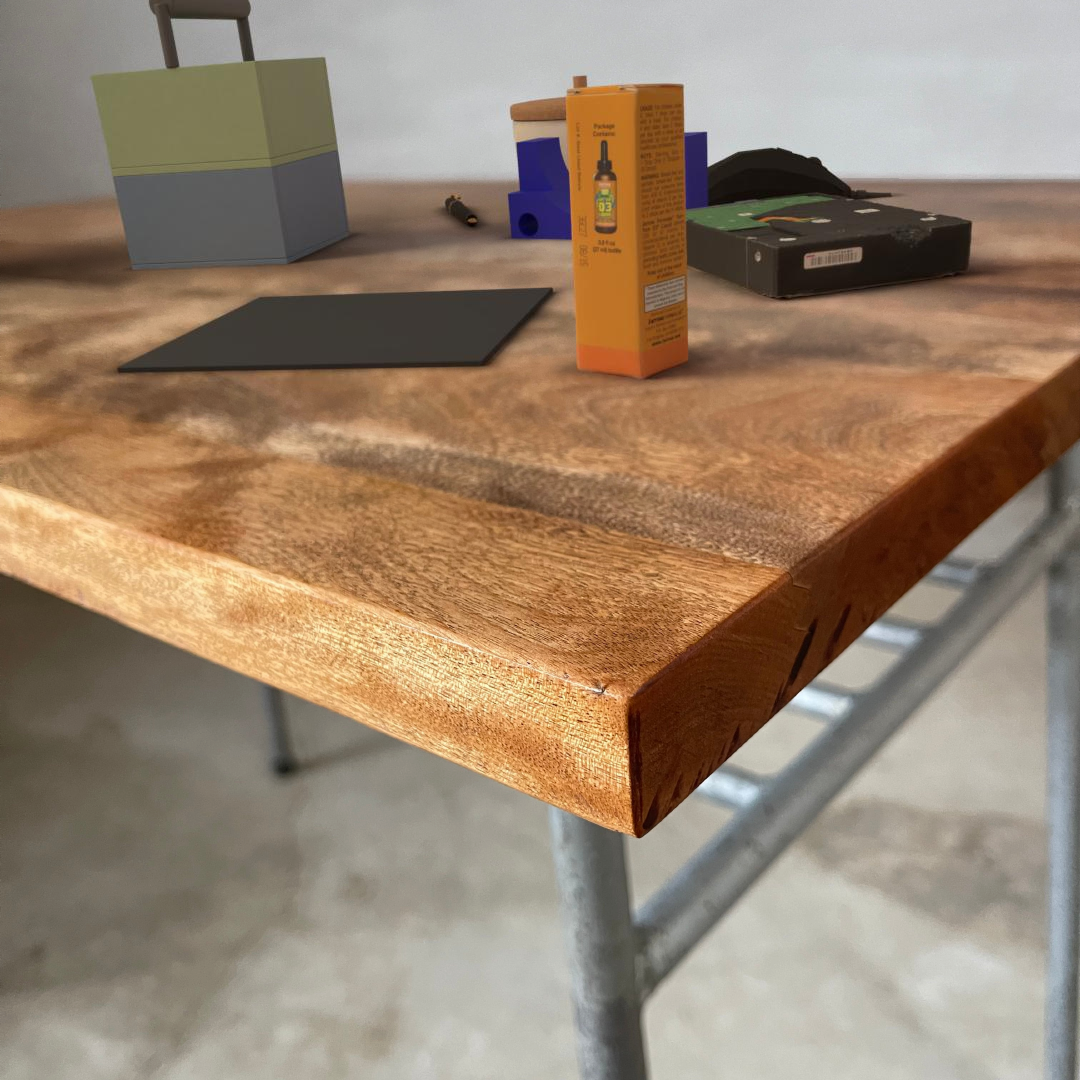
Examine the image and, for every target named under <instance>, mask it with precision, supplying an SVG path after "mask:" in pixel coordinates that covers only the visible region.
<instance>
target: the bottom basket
mask: <svg viewBox="0 0 1080 1080" xmlns="http://www.w3.org/2000/svg"><path fill="white" fill-rule="evenodd" d="M112 182H113V186H114V190H115V195H116V199H117V204H118V210H119V214H120V218H121V222H122V227H123V233H124V236H125V237H124V238H125V241H126V245H127V250H128V254H129V260H130V263H131V268H132V271H140V270H141V271H143V270H144V271H145V270H164V269H166V270H167V269H189V268H214V267H216V268H218V267H219V268H220V267H241V266H243V267H244V266H264V265H266V266H267V265H268V266H269V265H288V264H290V263H293V262H294V261H298V260H299V259H302V258H304V257H306V256H308V255H310V254H313V253H314V252H317V251H319V250H322V249H324V248H326V247H329V246H330V245H332V244H334V243H337V242H339V241H341V240H343V239H346V238H347V237H350V236H351V233H350V226H349V217H348V211H347V204H346V197H345V189H344V183H343V176H342V168H341V161H340V154H339V149H338V150H336V151H333V152H329V153H325V154H321V155H317V156H313V157H309V158H305V159H302V160H298V161H294V162H290V163H286V164H282V165H278V166H274V167H267V168H250V169H234V170H218V171H201V172H185V173H168V174H152V175H136V176H119V177H113V176H112Z"/></svg>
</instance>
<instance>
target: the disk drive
mask: <svg viewBox="0 0 1080 1080" xmlns="http://www.w3.org/2000/svg"><path fill="white" fill-rule="evenodd" d="M972 230H973V221H972V220H969V219H965V218H964V219H963V218H962V217H958V216H954V215H953V216H952V215H946V214H945V215H944V214H936V213H933V212H930V211H925V210H924V211H923V210H915V209H912V208H905V207H901V206H900V207H899V206H894V205H888V204H883V203H878V202H872V201H869V200H863V199H855V198H853V199H851V198H847V197H846V198H845V197H841V196H837V195H828V194H821V193H817V192H816V193H807V194H798V195H791V196H783V197H774V198H766V199H760V200H747V201H739V202H735V203H731V204H724V205H716V206H709V207H702V208H694V209H686V249H687V268H689V269H691V270H693V271H697V272H700V273H704V274H706V275H708V276H711V277H714V278H717V279H719V280H720V281H723V282H726V283H728V284H731V285H734V286H737V287H739V288H742V289H744V290H745V291H750V292H753V293H755V294H760V295H761V296H767V297H768V298H773V297H774V298H782V297H783V298H786V299H794V298H796V297H809V296H815V295H825V294H832V293H837V292H843V291H844V292H845V291H852V290H861V289H866V288H872V287H879V286H886V285H887V286H888V285H898V284H902V283H910V282H916V281H917V282H918V281H924V280H930V279H935V278H943V277H944V276H955V274H956V273H958V272H966V271H969V270H970V257H971V246H972V235H973V234H972V232H973V231H972Z"/></svg>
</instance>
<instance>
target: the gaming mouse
mask: <svg viewBox="0 0 1080 1080" xmlns="http://www.w3.org/2000/svg"><path fill="white" fill-rule="evenodd" d="M816 192H817V193H821V194H828V195H837V196H841V197H845V198H846V197H847V198H851V199H854V200H866V199H875V198H876V199H877V198H891V197H892V195H893V194H892V192H875V191H872V192H871V191H867V190H866V189H857V190H854V189H852V187H851V186H850V185H848V184H847V183H846V182H844V181H843V180H842V179H841V178H839V177H838V176H836V174H834V173H833V172H831V171H830V170H829V169H828V168H827V166H825V165H823V162H822V160H821V159H820V158H819V157H817V156H809V157H807V156H806V155H802V154H800V153H795V152H793V150H788V149H785V148H782V147H778V146H777V147H766V148H757V149H748V150H740V151H737V152H734V153H732V154H730V155H729V156H727V157H725V158H723V159H721V160H718V161H717V162H714V163H713V164H710V165H708V207H709V206H716V205H724V204H731V203H735V202H739V201H747V200H760V199H766V198H774V197H783V196H791V195H798V194H807V193H816Z"/></svg>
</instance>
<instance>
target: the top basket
mask: <svg viewBox="0 0 1080 1080" xmlns="http://www.w3.org/2000/svg"><path fill="white" fill-rule="evenodd" d="M148 7H149V9H150V11H151V12H152V13H153V16H155V19H156V23H157V28H158V34H159V39H160V45H161V49H162V54H163V59H164V60H163V61H164V65H165V68H154V69H153V68H152V69H141V70H128V71H119V72H116V71H115V72H107V73H105V72H104V73H95V74H90V80H91V86H92V89H93V94H94V98H95V103H96V108H97V112H98V117H99V122H100V126H101V130H102V135H103V139H104V145H105V149H106V154H107V159H108V163H109V167H110V173H111V176H112V178H113V177H119V176H136V175H152V174H168V173H185V172H201V171H218V170H234V169H250V168H267V167H274V166H278V165H282V164H286V163H290V162H294V161H298V160H302V159H305V158H309V157H313V156H317V155H321V154H325V153H329V152H333V151H336V150H338V151H339V147H338V139H337V133H336V125H335V124H336V123H335V118H334V117H335V116H334V110H333V104H332V103H333V102H332V96H331V89H330V81H329V74H328V66H327V60H326V56H319V57H318V56H317V57H300V58H299V57H297V58H283V59H281V58H280V59H266V60H265V59H264V60H256V59H255V52H254V45H253V39H252V34H251V27H250V21H249V16H250V15H251V11H252V6H251V3H250V0H148ZM172 20H213V21H215V20H217V21H218V20H219V21H220V20H221V21H236V26H237V33H238V39H239V45H240V50H241V57H242V61H237V62H235V61H234V62H226V63H212V64H202V65H189V66H188V65H187V66H180V61H179V56H178V51H177V45H176V40H175V39H176V38H175V35H174V29H173V23H172Z"/></svg>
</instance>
